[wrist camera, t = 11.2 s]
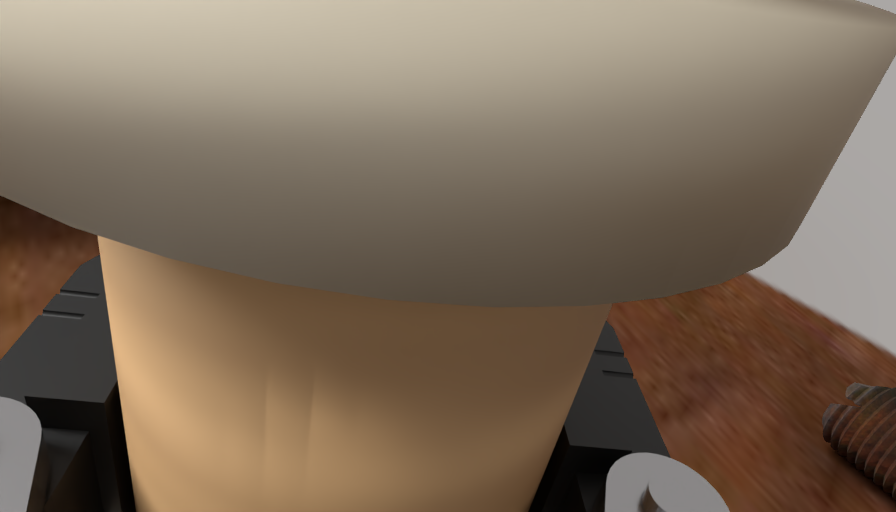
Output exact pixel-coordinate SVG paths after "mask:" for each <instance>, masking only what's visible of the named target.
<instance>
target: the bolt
mask: <svg viewBox="0 0 896 512" xmlns="http://www.w3.org/2000/svg"><path fill="white" fill-rule="evenodd" d="M846 398H848V399H850V400H852V401H853V402H854V403H855V404H857V405H859V406H861V407H854V406H847V405H841V404H830V405H829V407H828V408H827V410H826V411H825V413H824V414H823V418H822V423H823V427H824V429H823V437H824V440H825V441H826V442H829V443H831V447H832V448H833V449H834V450H838V453H839V455H841V456H847V461H848V462H849V463H855V466H856V469H858V470H863V471H864V473H865V477H869V478H874V480H873V482H874V483H875V484H876V485H883V491H884V492H886V493H892V498H893V499H894V500H895V501H896V387H895V388H888V387H880V386H875V387H873V386H868V385H864V384H859V383H853V384H852V385H850V386H849V387H847V390H846Z"/></svg>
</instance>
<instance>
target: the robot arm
mask: <svg viewBox="0 0 896 512" xmlns="http://www.w3.org/2000/svg"><path fill="white" fill-rule="evenodd" d="M0 512H136V507H135V500H134V493H133V486H132V479H131V472H130V465H129V458H128V450H127V443H126V436H125V429H124V422H123V415H122V408H121V400H120V393H119V386H118V379H117V372H116V365H115V358H114V350H113V343H112V336H111V329H110V322H109V315H108V308H107V300H106V293H105V286H104V279H103V272H102V265H101V258H100V255H98V256H96V257H95V258H93V259H91V260H89V261H87V262H86V263H84V264H82V265H81V266H80V267H79V268H78V269H77V270H76V271H75V273H74V274H73V275H72V276H71V277H70V279H69V280H68V281H67V282H66V283H65V284H64V286H63V287H62V288H61V289H60V294H56V295H55V296H54V297H53V299H52V300H51V301H50V302H49V303H48V305H47V306H46V307H45V308H44V309H43V314H42V315H38V316H37V318H36V319H35V320H34V321H33V322H32V323H31V325H30V326H29V327H28V328H27V329H26V331H25V332H24V333H23V334H22V335H21V336H20V338H19V339H18V340H17V341H16V342H15V344H14V345H13V346H12V347H11V348H10V349H9V351H8V352H7V353H6V354H5V355H4V357H3V358H2V359H1V360H0ZM528 512H730V511H729V509H728V507H727V505H726V504H725V502H724V501H723V499H722V497H721V496H720V495H719V494H718V492H717V491H716V490H715V489H714V488H713V487H712V486H711V485H710V484H709V483H708V482H707V481H706V480H705V479H704V478H703V477H702V476H700V475H699V474H698V473H697V472H695V471H694V470H692V469H691V468H689V467H688V466H686V465H684V464H682V463H680V462H678V461H676V460H674V459H671V457H670V455H669V453H668V451H667V448H666V446H665V444H664V442H663V439H662V437H661V435H660V433H659V430H658V428H657V426H656V424H655V421H654V419H653V417H652V415H651V412H650V410H649V408H648V406H647V403H646V401H645V399H644V396H643V394H642V392H641V390H640V387H639V385H638V383H637V381H636V379H633V372H632V369H631V367H630V365H629V363H628V360H627V358H624V351H623V349H622V347H621V344H620V342H619V340H618V338H617V335H616V333H615V331H614V329H613V327H612V326H611V325H610V324H609V323H608V322H607V321H605V324H604V326H603V329H602V331H601V334H600V336H599V338H598V341H597V343H596V346H595V348H594V351H593V353H592V356H591V358H590V361H589V363H588V366H587V368H586V371H585V373H584V375H583V378H582V380H581V383H580V385H579V388H578V390H577V393H576V395H575V398H574V400H573V403H572V405H571V408H570V410H569V412H568V415H567V417H566V420H565V422H564V425H563V427H562V430H561V432H560V435H559V437H558V440H557V442H556V445H555V447H554V449H553V452H552V454H551V457H550V459H549V462H548V464H547V467H546V469H545V472H544V474H543V477H542V479H541V482H540V484H539V487H538V489H537V491H536V494H535V496H534V499H533V501H532V504H531V506H530V509H529V511H528Z"/></svg>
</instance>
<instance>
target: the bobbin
mask: <svg viewBox="0 0 896 512" xmlns="http://www.w3.org/2000/svg"><path fill="white" fill-rule="evenodd" d="M895 55H896V14H894V13H891V12H889V11H886V10H883V9H880V8H877V7H874V6H872V5H869V4H866V3H862V2H859V1H855V0H0V196H3V197H5V198H7V199H9V200H12V201H14V202H16V203H19V204H21V205H23V206H25V207H28V208H30V209H32V210H35V211H37V212H39V213H41V214H44V215H46V216H48V217H50V218H53V219H55V220H57V221H60V222H62V223H64V224H66V225H69V226H71V227H73V228H76V229H80V230H83V231H86V232H89V233H92V234H95V235H97V236H98V243H99V250H100V258H101V265H102V272H103V279H104V286H105V293H106V300H107V308H108V315H109V322H110V329H111V336H112V343H113V350H114V358H115V365H116V372H117V379H118V386H119V393H120V400H121V408H122V415H123V422H124V429H125V436H126V443H127V450H128V458H129V465H130V472H131V479H132V486H133V493H134V500H135V507H136V512H528V511H529V509H530V506H531V504H532V501H533V499H534V496H535V494H536V491H537V489H538V487H539V484H540V482H541V479H542V477H543V474H544V472H545V469H546V467H547V464H548V462H549V459H550V457H551V454H552V452H553V449H554V447H555V445H556V442H557V440H558V437H559V435H560V432H561V430H562V427H563V425H564V422H565V420H566V417H567V415H568V412H569V410H570V408H571V405H572V403H573V400H574V398H575V395H576V393H577V390H578V388H579V385H580V383H581V380H582V378H583V375H584V373H585V371H586V368H587V366H588V363H589V361H590V358H591V356H592V353H593V351H594V348H595V346H596V343H597V341H598V338H599V336H600V334H601V331H602V329H603V326H604V324H605V321H606V319H607V316H608V314H609V311H610V309H611V306H612V304H613V303H618V302H627V301H636V300H645V299H654V298H662V297H667V296H671V295H675V294H679V293H683V292H687V291H691V290H696V289H700V288H704V287H708V286H712V285H716V284H720V283H723V282H725V281H728V280H730V279H732V278H734V277H737V276H739V275H741V274H744V273H746V272H748V271H750V270H753V269H755V268H757V267H760V266H762V265H763V264H765V263H766V262H767V261H768V260H770V259H771V258H772V257H774V256H775V255H776V254H778V253H779V252H780V251H781V250H782V249H784V248H785V247H786V246H788V244H789V243H790V241H791V240H792V238H793V236H794V235H795V233H796V231H797V230H798V228H799V226H800V225H801V223H802V221H803V219H804V218H805V216H806V214H807V212H808V211H809V209H810V207H811V205H812V203H813V202H814V200H815V198H816V196H817V194H818V193H819V191H820V189H821V187H822V185H823V184H824V182H825V180H826V178H827V177H828V175H829V173H830V171H831V169H832V168H833V166H834V164H835V162H836V161H837V159H838V157H839V155H840V153H841V152H842V150H843V148H844V146H845V145H846V143H847V141H848V139H849V137H850V136H851V133H852V132H853V130H854V128H855V127H856V125H857V123H858V121H859V120H860V118H861V116H862V114H863V112H864V111H865V109H866V107H867V105H868V103H869V102H870V100H871V98H872V96H873V95H874V93H875V91H876V89H877V87H878V85H879V84H880V82H881V80H882V78H883V77H884V75H885V73H886V71H887V70H888V68H889V66H890V64H891V62H892V61H893V59H894V57H895Z"/></svg>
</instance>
